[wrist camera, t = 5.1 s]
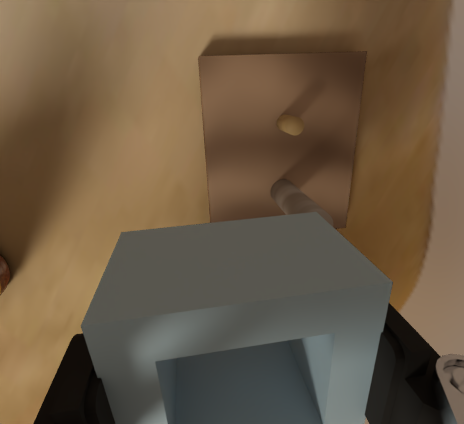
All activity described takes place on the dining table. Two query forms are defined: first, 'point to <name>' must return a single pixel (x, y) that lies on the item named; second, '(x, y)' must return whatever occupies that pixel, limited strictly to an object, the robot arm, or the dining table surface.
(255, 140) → the post block
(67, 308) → the dining table surface
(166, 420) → the hollow blue brick
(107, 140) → the dining table surface
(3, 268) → the sauce bottle
